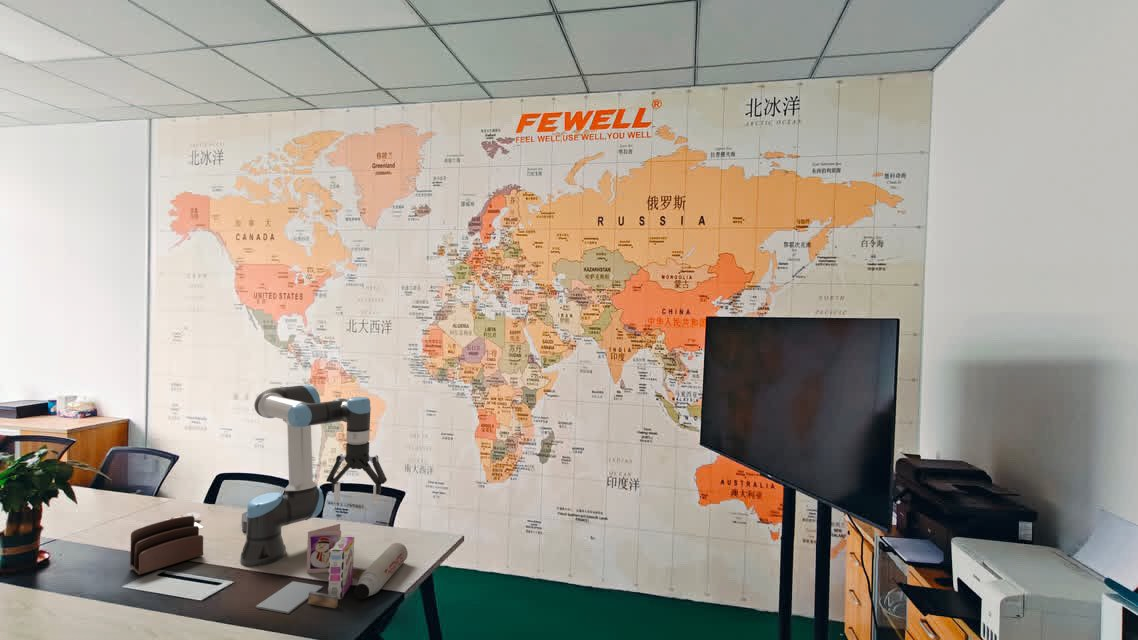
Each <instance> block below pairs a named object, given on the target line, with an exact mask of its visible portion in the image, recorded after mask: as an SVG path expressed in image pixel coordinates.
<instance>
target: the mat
mask: <svg viewBox="0 0 1138 640" xmlns="http://www.w3.org/2000/svg"><path fill="white" fill-rule="evenodd" d="M322 589H324V586H323V585H316V584H311V583H307V582H299V581H295V580H294V581H293V580H292V581H291V582H290V583H288V584H287V585H285V586H284V587H282V588H281V589H279V590H278V591H276V592H275V593H273V594H272V595H270V596H268V597H267V598H265V600H263V601H261V602H259V603H258V604H256V605H255V608H256V609H261V610H265V611H266V610H267V611H271V612H276V613H281V614H287V615H289V614H290V613H292V612H293V611H295V610H296V609H297V608H298V607H299V606H301V605H302V604H304V603H305V602H306V601H307V600H308V595H309V592H317V593H319V592H320V591H321V590H322Z"/></svg>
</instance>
